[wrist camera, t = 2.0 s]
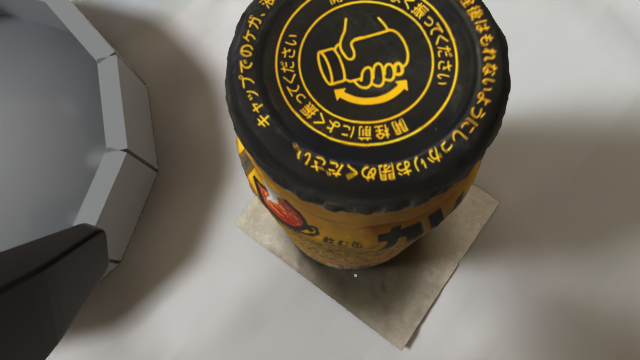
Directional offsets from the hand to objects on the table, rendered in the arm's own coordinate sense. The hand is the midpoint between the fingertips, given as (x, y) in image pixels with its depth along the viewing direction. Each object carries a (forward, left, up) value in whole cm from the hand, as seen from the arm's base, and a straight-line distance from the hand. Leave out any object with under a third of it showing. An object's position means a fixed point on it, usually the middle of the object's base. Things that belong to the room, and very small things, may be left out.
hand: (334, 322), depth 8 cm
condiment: (+4, 0, -11) cm, 12 cm away
